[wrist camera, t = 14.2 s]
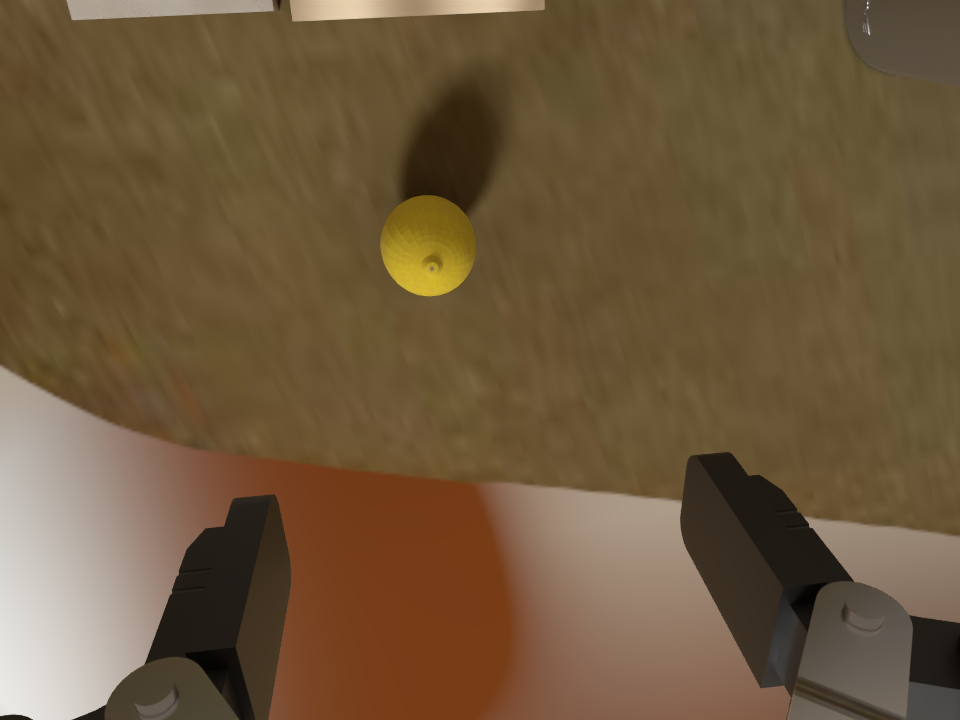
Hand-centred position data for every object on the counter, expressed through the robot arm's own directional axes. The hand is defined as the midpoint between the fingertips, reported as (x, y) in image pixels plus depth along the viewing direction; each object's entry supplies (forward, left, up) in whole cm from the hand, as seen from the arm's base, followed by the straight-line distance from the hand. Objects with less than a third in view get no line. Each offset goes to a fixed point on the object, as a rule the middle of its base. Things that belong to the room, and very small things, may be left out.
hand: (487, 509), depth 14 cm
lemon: (0, +4, -33) cm, 33 cm away
